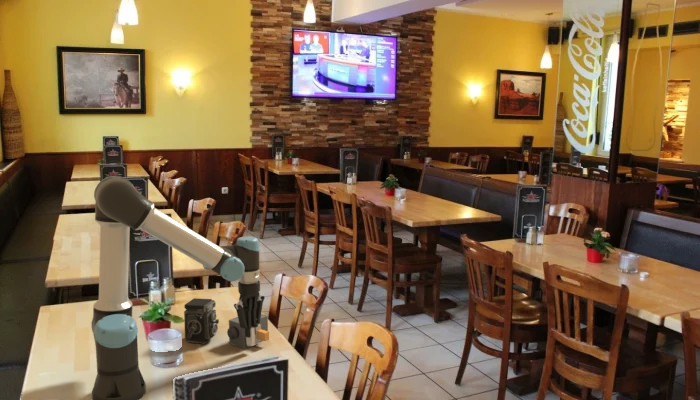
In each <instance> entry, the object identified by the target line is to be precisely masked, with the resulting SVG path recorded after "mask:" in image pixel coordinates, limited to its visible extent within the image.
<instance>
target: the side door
mask: <svg viewBox="0 0 700 400" xmlns="http://www.w3.org/2000/svg"><path fill="white" fill-rule="evenodd" d="M261 340H263V341H261ZM269 340H270V332H269V330H268V331H265V330H262V329H261V325H260V324H259V325H258V327H256V334H255V345H257V344H258V342H259V343H261V342H267V341H269ZM256 343H257V344H256ZM247 346H248V347H247V348H249V346H250V345H247ZM250 347H251V346H250Z"/></svg>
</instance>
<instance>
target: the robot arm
mask: <svg viewBox="0 0 700 400" xmlns="http://www.w3.org/2000/svg"><path fill="white" fill-rule="evenodd" d="M93 198H94V201H95V202H94V203H95V205H94V206H95V210H94V215H95V216H94V220H95V221H96V223H97V224H98V225H99V226H100V229H99V230H100V231H99V264H98V265H99V267H98V271H99V272H98V273H99V274H98V278H99V279H98V300H96V302H94V303H93V311H92V312H93V314H92V320H91V331H92V333H93V334H92V335H93V339H94V343H95V344H94V345H95V357H96V376H95V380H94V383H93V388H92V391H91V392H92V393H91V397H92V398H91V399H92V400H140V399H141V398H142V397H143V396H144V395H145V394H146V390H147V388H146V381H145V378H144V377H143V376H144V375H143V374H142V372H141V370H140V367H139V366H140V365H139V348H138V347H139V346H138V345H139V343H138V332H139V331H138V326H137V322H136V319H135V318H134V317H133V302H132V301H131V300H130V299H129V297H128V296H129V272H130V271H129V270H130V269H129V268H130V267H129V266H130V264H129V263H130V234H131V233H130V231H131V229H132V230H134V231H139V230H141V231H143V232H144V233H147V234H148V235H150V236H152V237H154V238H156V239H157V240H159V241H160V242H162V243H164V244H165V245H167V246H169V247H170V248H173V249H175V250H176V251H178V252H179V253H181V254H183V255H185V256H187V257H188V258H190V259H192V260H194V261H195V262H197V263H199V264H201V265H202V268H203V269H204V270H205V271H206V270H207V271H208V270H209V271H210V270H211V271H213V272H214V273H215V274H218V275H220V276H221V278H222V279H224V280H226V281H228V282H237V281H238V283H237V285H238V287H237V289H238V290H237V291H238V293H239V298H238V302H237V303H234V304H233V307H234V309H235V311H236V315H237V317H238V319H239V324H240V327H241V328H244V329H245V336H246V342H247V345H250V347H253V346H255V345H256V344H255V334H256V327H258V325H257V324H259V323H260V318H261V314H262V309H263V305H264V300H265V297H266V296H264V295H261V293H260V291H261V281H260V279H261V278H260V275H261V274H260V272H261V270H260V243H259V239H258V238H257V237H255V236H250V235H249V236H246V235H245V236H241V237H240V236H239V237H238V238H237V239H236V244H229V245H217V244H216V243H214V242H213V241H211V240H209V239H207V238H206V237H204V236H202V235H201V234H199V233H197V232H196V231H194V230H192V229H191V228H189V227H187V226H186V225H184V224H183V223H181V222H180V221H178V220H176V219H174V218H172V217H171V216H170V215H167V214H166V213H165V212H163V211H161V210H160V209H158V208H156V207H155V204H154V202H152V201H151V200H149V199H148V198H146V197H145V196H144V195H143V194H141V193H140V192H139V191H138V190H137V189H136V188H135V186H134V185H133V183H132V182H131V181H129V180H128V179H127V178H126V177H123V176H115V175H113V176H107V177H105V178H103V179H102V180H100V181H99V182H98V184H96V187H95V189H94V193H93ZM130 228H131V229H130Z"/></svg>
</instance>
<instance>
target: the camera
mask: <svg viewBox="0 0 700 400" xmlns="http://www.w3.org/2000/svg"><path fill="white" fill-rule="evenodd" d="M183 307H184V309H185V310H184V312H183V316H184V317H183V319H184V322H183V323H184V340H185V342H188V343H195V344H197V343H198V344H203V345H204V344H206V343H207V342H208V341H210V340H211V339H212V338H214V337H215V336H216V335H217V333H218V329H219V327H218V326H219V325H218V324H219V322H220V321H219V319H217V314H216V312H217V310H216V309H214V308H216V301H215V300H214V299H212V298H194V297H193V298H192V299H191V300H190V301H187V303H185V304H184V306H183Z"/></svg>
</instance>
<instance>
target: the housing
mask: <svg viewBox="0 0 700 400" xmlns="http://www.w3.org/2000/svg"><path fill="white" fill-rule="evenodd" d="M268 319H269V317H268V315H266V314H263V313H261V318H260V323H259V324H260V325H261V329H262V330H265V331H268V332H269V325H268V324H269V320H268ZM259 324H257V325H259ZM226 333H227V336H228V340H229V341H228V342H229V344H231V345H233V346H236V347H238V348H242V349H244V350H245V349H247V348H249V347H251V346H249V347H248V346H247V342H246V336H245V329H244V328H241V327H240V324H239V319H238V316H236V317H233V318H231V319H228V328H227V332H226ZM261 342H264V341H263V340H261ZM258 343H260V342H258ZM258 343H256V344H255V345H257V344H258Z"/></svg>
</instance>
